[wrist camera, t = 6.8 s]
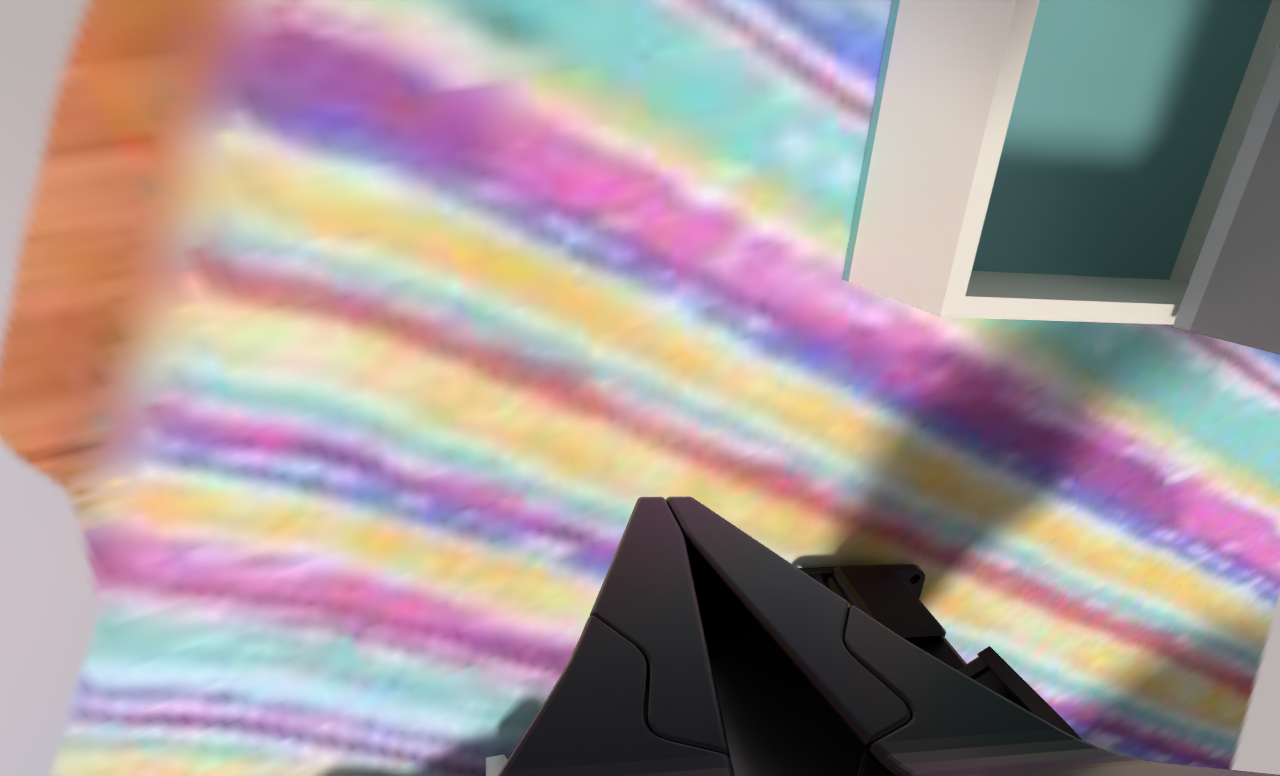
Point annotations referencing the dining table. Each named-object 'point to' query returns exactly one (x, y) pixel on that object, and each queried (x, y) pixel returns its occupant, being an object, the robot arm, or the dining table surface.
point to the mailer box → (1053, 153)
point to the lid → (1244, 241)
